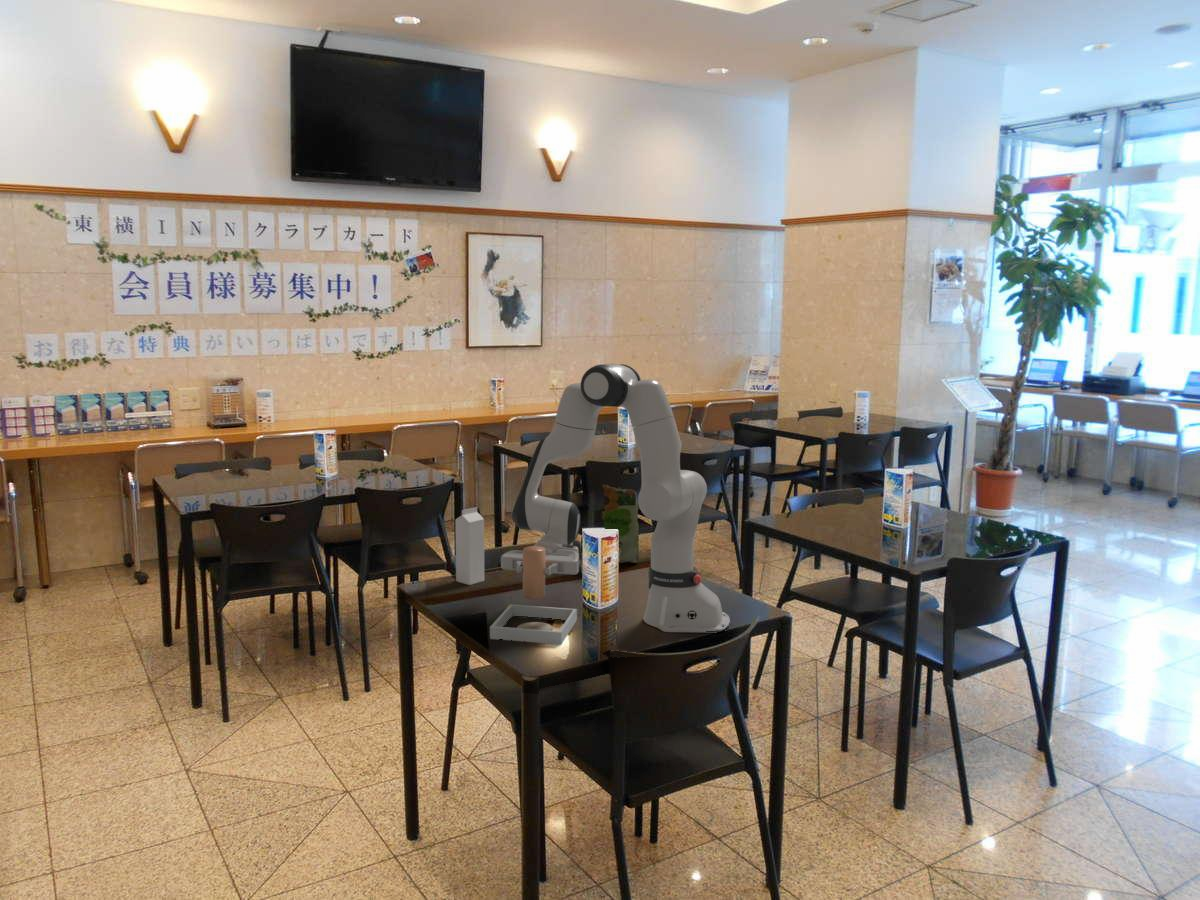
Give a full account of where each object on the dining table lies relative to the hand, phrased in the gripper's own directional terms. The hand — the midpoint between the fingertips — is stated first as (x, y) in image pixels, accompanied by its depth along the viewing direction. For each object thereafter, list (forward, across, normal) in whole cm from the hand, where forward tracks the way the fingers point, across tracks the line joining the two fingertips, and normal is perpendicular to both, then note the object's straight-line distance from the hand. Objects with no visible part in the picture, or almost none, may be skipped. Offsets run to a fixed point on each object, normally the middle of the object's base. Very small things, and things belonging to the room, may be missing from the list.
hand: (533, 570), depth 231 cm
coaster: (-1, 0, +16) cm, 16 cm away
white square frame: (-1, 0, +16) cm, 16 cm away
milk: (-37, -29, +16) cm, 49 cm away
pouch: (-67, +11, +16) cm, 70 cm away
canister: (-1, 0, +7) cm, 7 cm away
